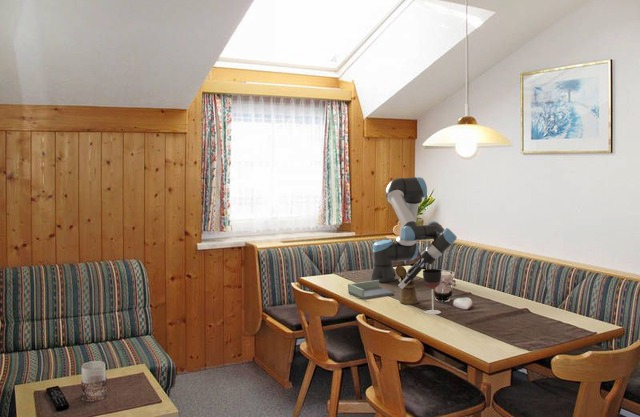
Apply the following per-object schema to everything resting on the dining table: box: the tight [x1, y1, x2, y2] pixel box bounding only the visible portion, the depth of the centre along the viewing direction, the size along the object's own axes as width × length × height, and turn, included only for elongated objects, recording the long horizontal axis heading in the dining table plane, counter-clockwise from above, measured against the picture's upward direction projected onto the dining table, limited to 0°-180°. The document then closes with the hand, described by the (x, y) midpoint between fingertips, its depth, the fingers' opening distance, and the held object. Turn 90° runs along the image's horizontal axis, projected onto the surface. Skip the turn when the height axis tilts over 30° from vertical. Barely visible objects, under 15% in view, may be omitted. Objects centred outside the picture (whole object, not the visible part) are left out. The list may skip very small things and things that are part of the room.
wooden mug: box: [395, 264, 419, 305], centre depth 307 cm, size 9×14×18 cm, turn 23°
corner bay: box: [347, 280, 394, 300], centre depth 326 cm, size 19×16×5 cm
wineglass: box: [422, 268, 442, 315], centre depth 286 cm, size 8×9×20 cm
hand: (400, 284), depth 307 cm, fingers closed on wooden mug, 10 cm apart
